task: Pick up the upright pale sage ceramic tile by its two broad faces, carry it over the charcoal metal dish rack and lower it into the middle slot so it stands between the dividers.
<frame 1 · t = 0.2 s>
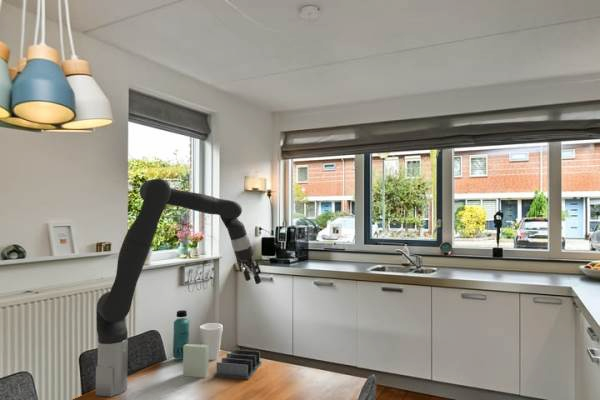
hand: (253, 281, 175), 31 cm above the table, tool tilted 20°, fingers open, 8 cm apart
rack: (239, 369, 158), on the table
tile: (195, 375, 153), on the table
beverage bottle: (181, 360, 169), on the table
foam cup: (211, 357, 171), on the table
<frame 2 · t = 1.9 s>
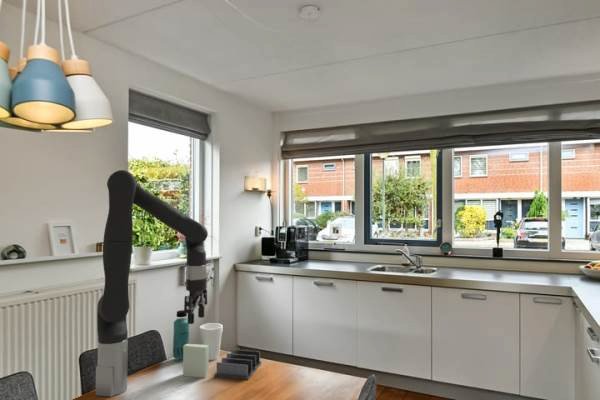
hand: (196, 320, 154), 20 cm above the table, tool pointing down, fingers open, 8 cm apart
nothing on the table moved.
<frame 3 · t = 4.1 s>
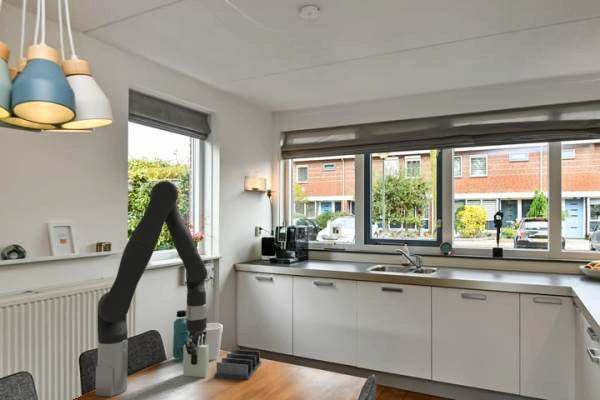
hand: (196, 362, 153), 5 cm above the table, tool pointing down, fingers closed on tile, 2 cm apart
tile: (196, 375, 153), on the table, touching gripper
everything else where it was.
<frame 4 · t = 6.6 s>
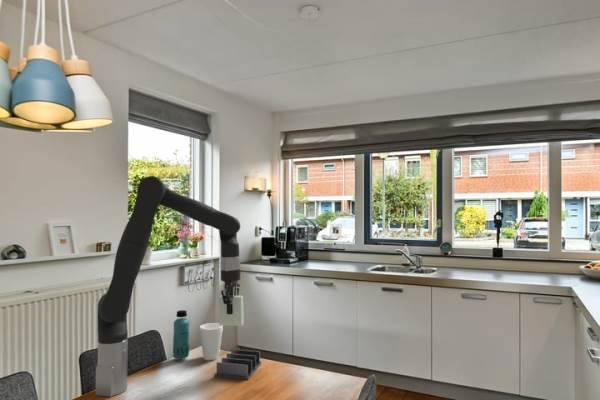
hand: (231, 312, 158), 22 cm above the table, tool pointing down, fingers closed on tile, 2 cm apart
tile: (231, 324, 158), point 18 cm above the table, touching gripper
everything else where it was.
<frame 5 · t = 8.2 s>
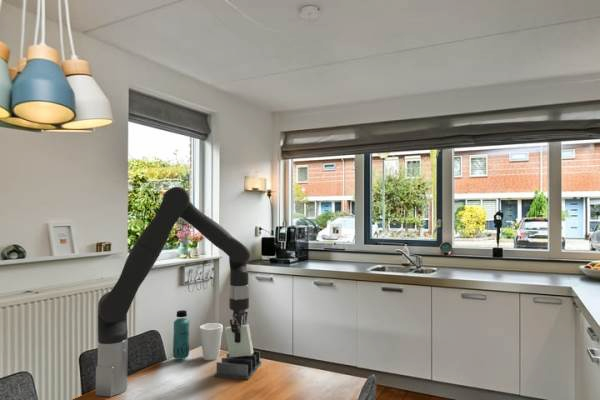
hand: (239, 341, 158), 11 cm above the table, tool pointing down, fingers closed on tile, 2 cm apart
tile: (241, 355, 158), point 6 cm above the table, tilted 10°, touching gripper
everything else where it was.
when the fingers open (7 cm above the table, at t = 9.4 s): tile drops 1 cm, resting on rack.
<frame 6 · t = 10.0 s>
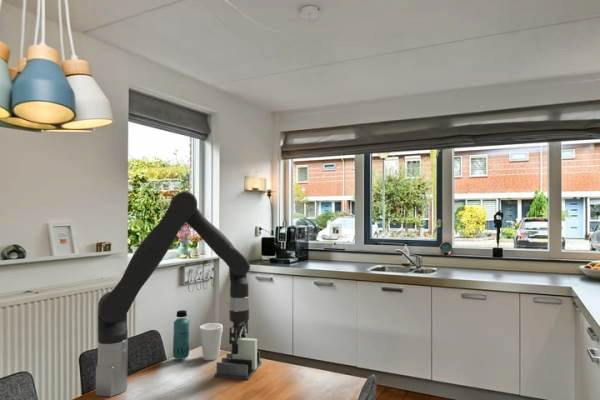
hand: (239, 350, 158), 8 cm above the table, tool pointing down, fingers open, 8 cm apart
tile: (244, 367, 158), point 1 cm above the table, touching rack
everything else where it was.
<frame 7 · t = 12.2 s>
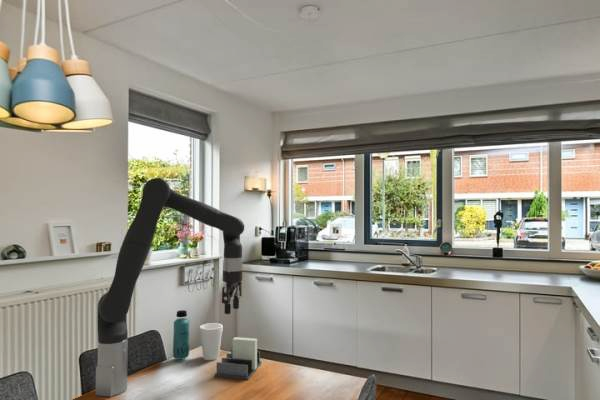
hand: (231, 311, 159), 23 cm above the table, tool pointing down, fingers open, 8 cm apart
nothing on the table moved.
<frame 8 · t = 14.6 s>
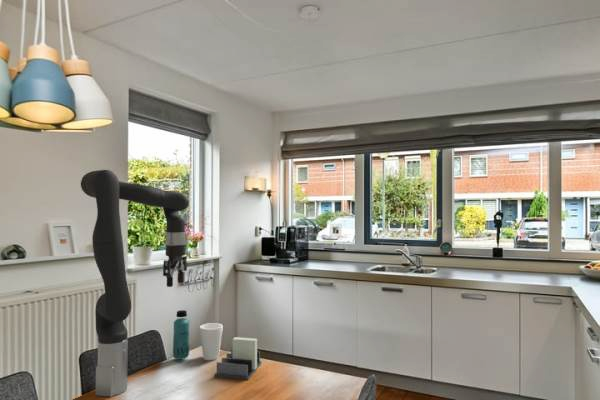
hand: (175, 284, 162), 32 cm above the table, tool pointing down, fingers open, 8 cm apart
nothing on the table moved.
at the end: tile 2.3 cm off-centre on the rack, point 1.0 cm above the rack's base; tile tilted 0°; the gripper is holding nothing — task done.
